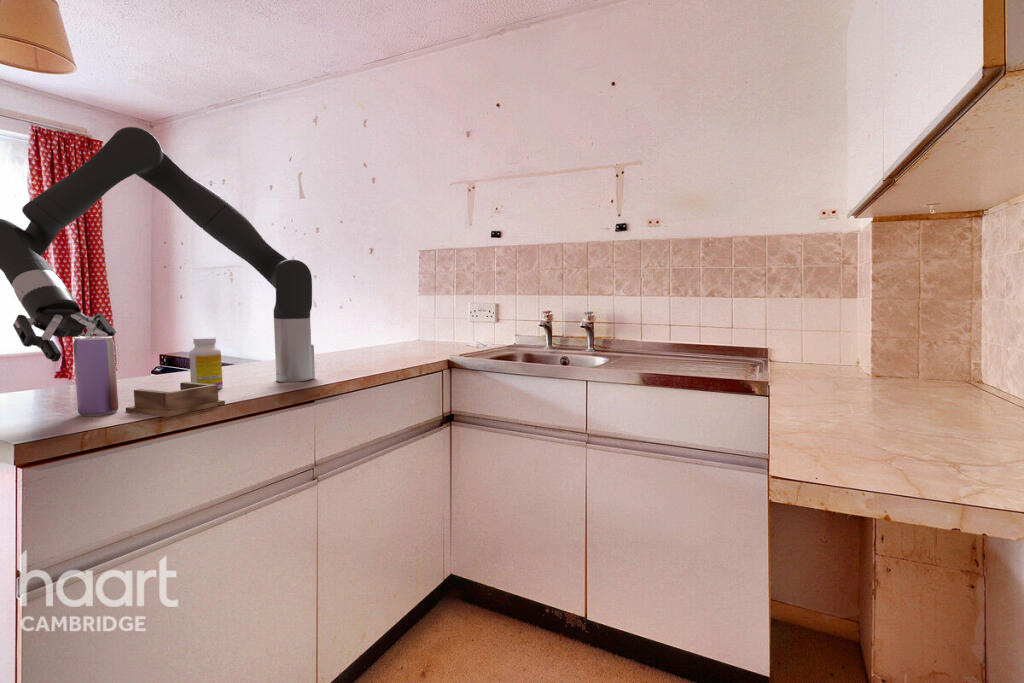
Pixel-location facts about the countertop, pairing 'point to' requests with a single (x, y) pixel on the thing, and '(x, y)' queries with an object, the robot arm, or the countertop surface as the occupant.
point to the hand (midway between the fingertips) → (84, 356)
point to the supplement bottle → (206, 362)
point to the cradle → (176, 400)
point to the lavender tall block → (95, 375)
